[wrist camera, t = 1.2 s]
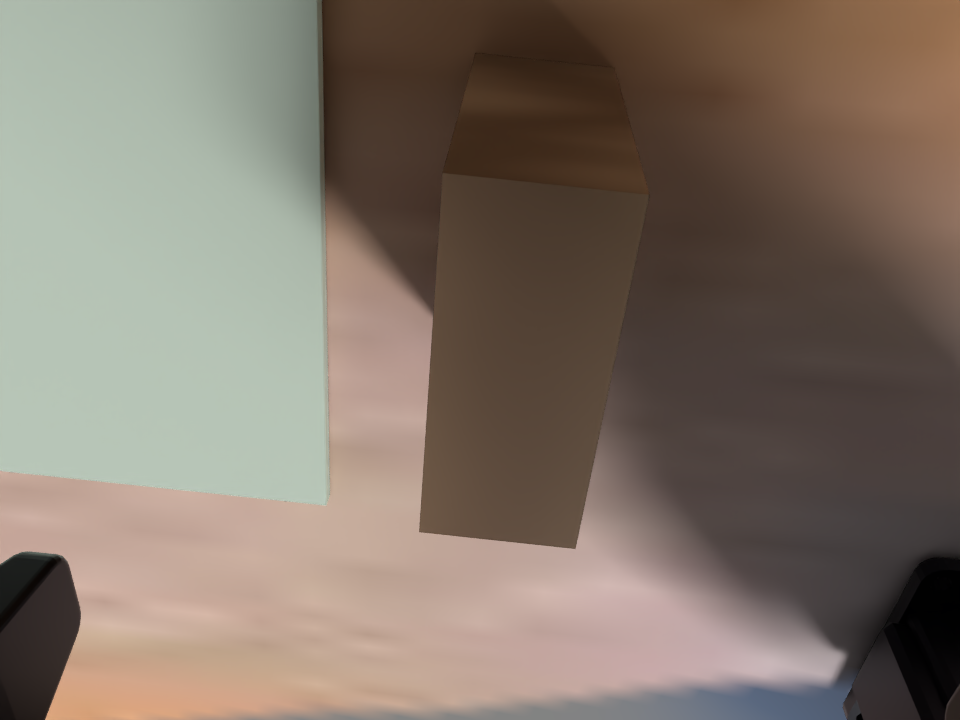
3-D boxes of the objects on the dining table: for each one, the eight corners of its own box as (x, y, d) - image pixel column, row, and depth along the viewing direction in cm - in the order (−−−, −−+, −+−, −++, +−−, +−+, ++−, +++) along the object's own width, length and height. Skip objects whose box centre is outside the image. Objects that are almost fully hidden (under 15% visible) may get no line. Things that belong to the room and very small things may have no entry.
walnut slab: (613, 67, 15) (650, 194, 10) (566, 347, 18) (575, 548, 13) (475, 52, 15) (442, 172, 10) (453, 335, 18) (419, 532, 13)
